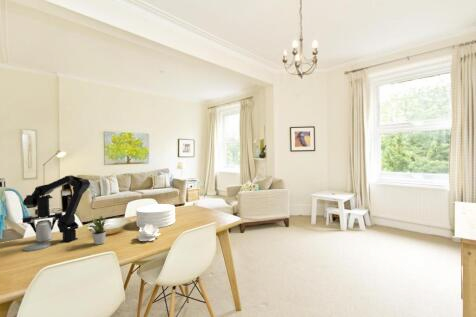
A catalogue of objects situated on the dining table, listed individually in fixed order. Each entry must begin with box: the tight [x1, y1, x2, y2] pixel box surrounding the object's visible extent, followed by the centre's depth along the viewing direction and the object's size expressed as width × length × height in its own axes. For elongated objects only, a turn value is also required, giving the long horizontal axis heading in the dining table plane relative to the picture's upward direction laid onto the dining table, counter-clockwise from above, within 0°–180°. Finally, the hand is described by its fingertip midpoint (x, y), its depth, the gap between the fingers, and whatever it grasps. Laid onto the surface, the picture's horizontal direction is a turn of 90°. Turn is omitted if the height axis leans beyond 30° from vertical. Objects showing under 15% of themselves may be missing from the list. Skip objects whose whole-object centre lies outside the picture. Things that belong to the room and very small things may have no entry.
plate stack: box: [135, 203, 176, 229], centre depth 181 cm, size 28×28×12 cm
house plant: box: [85, 215, 110, 245], centre depth 140 cm, size 14×14×16 cm
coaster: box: [23, 241, 52, 252], centre depth 134 cm, size 12×12×1 cm
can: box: [35, 219, 53, 243], centre depth 145 cm, size 8×8×12 cm
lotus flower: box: [135, 224, 162, 242], centre depth 146 cm, size 14×15×9 cm
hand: (43, 231), depth 145 cm, fingers closed on can, 7 cm apart
